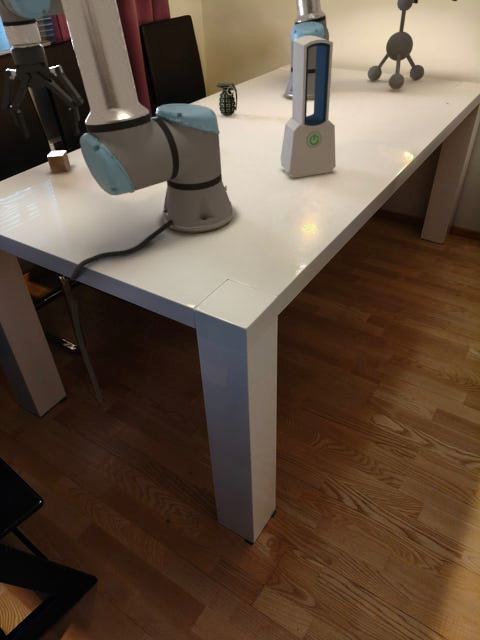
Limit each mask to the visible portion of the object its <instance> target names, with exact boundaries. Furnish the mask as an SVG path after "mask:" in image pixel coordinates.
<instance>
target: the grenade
mask: <svg viewBox="0 0 480 640" xmlns="http://www.w3.org/2000/svg"><path fill="white" fill-rule="evenodd" d="M215 87H217V88H219V89H221V93H219V97H218V101H219V102H218V106H219V108H218V109H219V112H220V114H221V115H222V116H224V117H231V116H233V115H234V113H235V112H236V111H237V108H238V89H237V87H236V85H235V84H234V83H233V82H218V83H217V84H216V86H215ZM232 91H233V92H232ZM234 94H235V96H234Z"/></svg>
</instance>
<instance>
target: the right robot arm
mask: <svg viewBox="0 0 480 640" xmlns="http://www.w3.org/2000/svg"><path fill="white" fill-rule="evenodd" d="M451 1H453V2H457V1H458V0H451ZM295 2H296V10H297V16H296V17H295V19H294V25H293V26H292V27H291V32H290V73H289V77H288V81H287V84H286V87H285V97H286V98H287V99H290V100H292V99H293V41H294V40H296V39H298V38H300V37H303V36H309V35H311V36H317V37H320V38H323V39H325V40H328V41H330V32H329V29H328V26H327V17H326V13H325V12H324V11H323V10H322V7H321V0H295ZM418 3H419V0H413V4H415V5H416V4H418ZM316 48H317V46H314V47H311V48H309V52H308V82H307V101H309V100H314V95H315V71H316Z"/></svg>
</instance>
